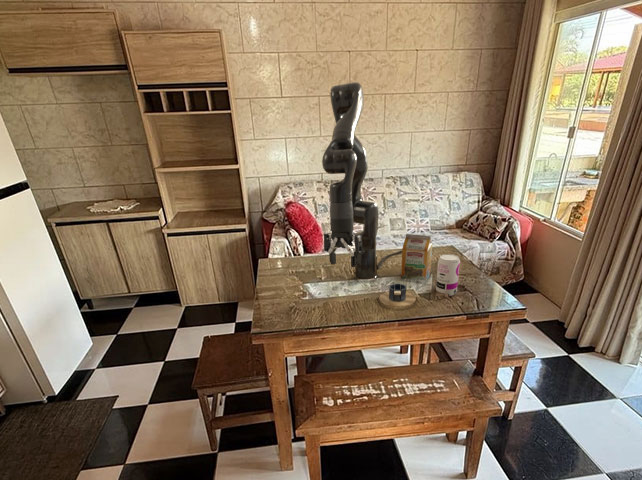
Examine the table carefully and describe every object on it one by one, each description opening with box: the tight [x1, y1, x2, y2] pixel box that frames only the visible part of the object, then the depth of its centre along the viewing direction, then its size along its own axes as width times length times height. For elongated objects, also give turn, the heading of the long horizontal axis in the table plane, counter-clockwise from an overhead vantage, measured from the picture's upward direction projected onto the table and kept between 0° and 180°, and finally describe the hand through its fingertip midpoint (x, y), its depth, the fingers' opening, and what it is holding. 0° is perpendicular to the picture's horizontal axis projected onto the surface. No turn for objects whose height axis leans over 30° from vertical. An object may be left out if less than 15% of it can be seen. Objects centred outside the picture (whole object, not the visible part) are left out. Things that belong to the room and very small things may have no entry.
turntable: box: [378, 291, 416, 307], centre depth 158 cm, size 14×14×2 cm
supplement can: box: [435, 253, 461, 297], centre depth 160 cm, size 8×8×15 cm
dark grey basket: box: [388, 283, 407, 302], centre depth 156 cm, size 8×6×5 cm
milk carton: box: [400, 233, 433, 281], centre depth 175 cm, size 11×11×19 cm
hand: (343, 265), depth 138 cm, fingers open, 8 cm apart
